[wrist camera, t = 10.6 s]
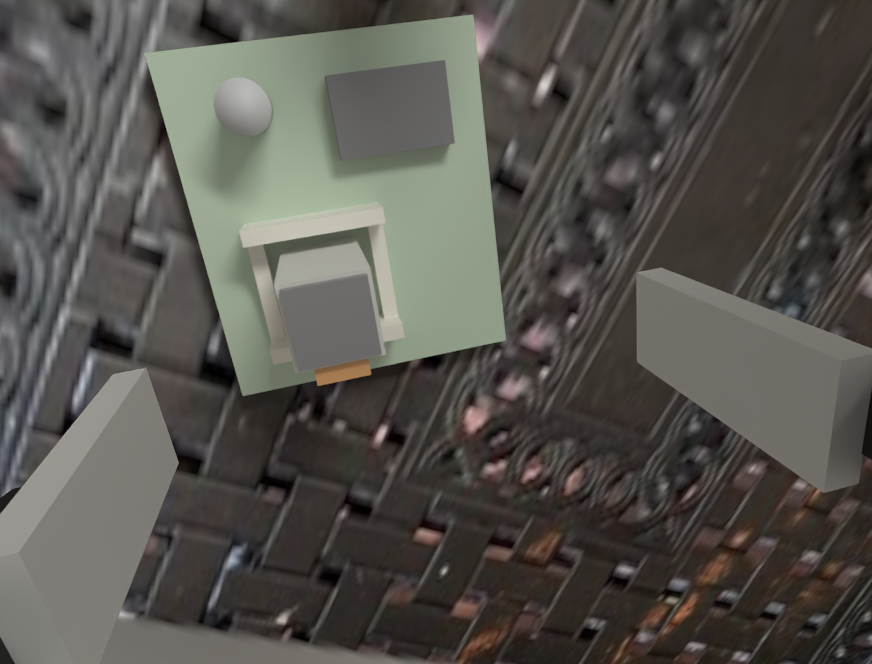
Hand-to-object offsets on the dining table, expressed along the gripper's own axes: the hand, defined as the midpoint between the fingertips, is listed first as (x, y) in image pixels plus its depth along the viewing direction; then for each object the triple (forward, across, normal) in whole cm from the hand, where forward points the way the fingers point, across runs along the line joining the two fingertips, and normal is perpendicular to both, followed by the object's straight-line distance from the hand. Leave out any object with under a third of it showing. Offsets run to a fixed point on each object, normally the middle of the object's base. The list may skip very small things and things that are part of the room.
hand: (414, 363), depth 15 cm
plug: (+18, -2, -2) cm, 18 cm away
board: (+19, 0, +2) cm, 19 cm away
